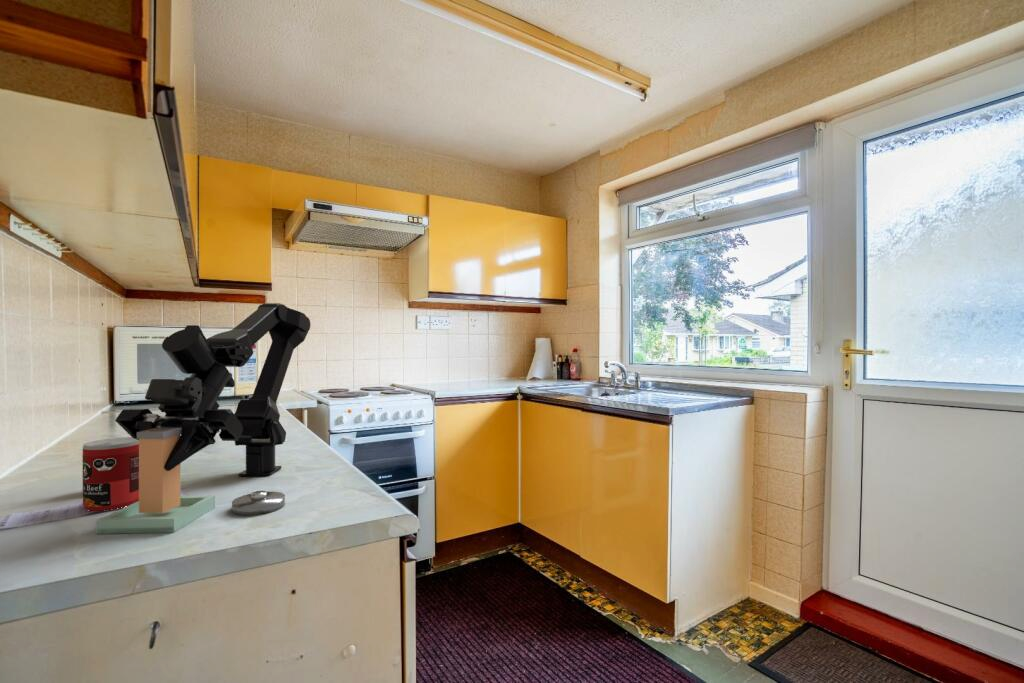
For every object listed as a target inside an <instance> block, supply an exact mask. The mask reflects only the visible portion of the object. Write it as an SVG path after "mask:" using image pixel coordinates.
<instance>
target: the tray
mask: <svg viewBox="0 0 1024 683" xmlns="http://www.w3.org/2000/svg"><path fill="white" fill-rule="evenodd" d="M214 508H216V495H182V496H181V495H180V505H179V506H177V507H175V508H173V509H171V510H168V511H166V512H164V513H139V501H138V502H136V503H133V504H131V505H129V506H127V507H125V508H121V509H117V510H115V511H114V512H112V513H110V514H109V513H108V514H107V515H105V516H103V517H101V518H99V519H97V520H96V535H105V534H106V535H108V534H109V535H113V533H114V534H117V533H119V534H147V533H148V534H156V533H157V534H158V533H159V534H160V533H175V532H177V531H179V530H180V529H182V528H184V527H185V526H187V525H188V524H190V523H192V522H194V521H195V520H197V519H199V518H201V517H202V516H203V515H205V514H207V513H208V512H210V511H211V510H214Z"/></svg>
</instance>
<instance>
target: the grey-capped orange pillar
mask: <svg viewBox="0 0 1024 683" xmlns="http://www.w3.org/2000/svg"><path fill="white" fill-rule="evenodd" d="M181 431H182V428H153V429H149V430H144V431H140V432H137V439H139V513H164V512H166V511H168V510H171V509H173V508H175V507H177V506H179V505H180V496H181V463H180V464H179V465H177V466H176V467H174V468H173V469H172V470H170V471H166V470H165V469H164V466H165V463H166V461H167V459H168V457H169V455H170V454H171V452H172V450H173V448H174V447H175V445H176V443H177V441H178V440H179V438H180V436H181Z"/></svg>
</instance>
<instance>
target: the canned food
mask: <svg viewBox="0 0 1024 683" xmlns="http://www.w3.org/2000/svg"><path fill="white" fill-rule="evenodd" d="M138 465H139V440H137V439H134V438H132V437H131V436H129V437H128V436H127V437H125V436H124V437H113V438H102V439H98V440H92V441H88V442H85V443H84V444H82V506H83V510H85V509H86V510H89V511H88V512H90V511H101V512H107V511H106V510H110V511H112V510H111V509H116V510H118V509H117V508H121V507H125V506H129V505H131V504H133V503H136V502H138V501H139V468H138ZM121 509H122V508H121ZM86 510H85V511H86ZM104 510H105V511H104Z"/></svg>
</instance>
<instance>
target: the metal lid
mask: <svg viewBox="0 0 1024 683" xmlns="http://www.w3.org/2000/svg"><path fill="white" fill-rule="evenodd" d="M284 506H286V496H285V494H284V493H283V492H280V491H266V490H257V491H252V492H251V493H247V494H244V495H241V496H238V497H236V498H234V499H233V500H232V501H231V513H232V514H233V515H234V516H235V515H236V516H243V517H245V516H246V517H250V516H252V515H253V516H260V515H259V514H261V515H266V514H270V513H273V511H274V512H276V511H279V510H280V509H281V510H282V508H283V507H284ZM269 512H270V513H269ZM265 513H266V514H265Z"/></svg>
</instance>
